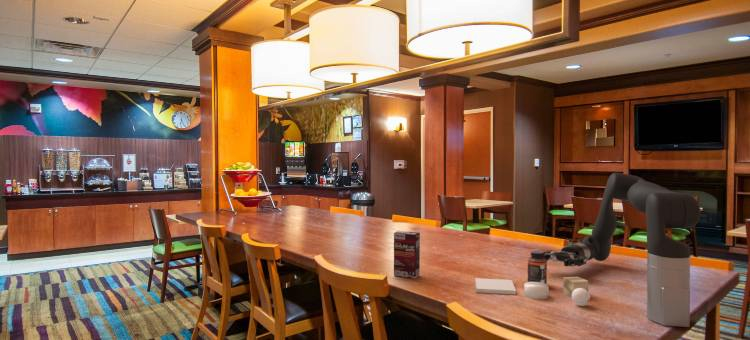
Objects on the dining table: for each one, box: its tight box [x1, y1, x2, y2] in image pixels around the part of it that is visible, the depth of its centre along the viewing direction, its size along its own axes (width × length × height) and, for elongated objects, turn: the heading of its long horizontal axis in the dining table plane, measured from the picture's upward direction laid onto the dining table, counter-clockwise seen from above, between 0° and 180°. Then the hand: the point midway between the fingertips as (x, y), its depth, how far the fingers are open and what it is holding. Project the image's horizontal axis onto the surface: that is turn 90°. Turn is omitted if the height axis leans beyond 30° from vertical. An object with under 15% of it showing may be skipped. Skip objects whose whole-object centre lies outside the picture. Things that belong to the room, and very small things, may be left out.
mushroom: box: [571, 288, 591, 307], centre depth 124 cm, size 5×5×5 cm
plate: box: [474, 277, 517, 295], centre depth 141 cm, size 12×12×1 cm
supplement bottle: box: [527, 250, 548, 285], centre depth 143 cm, size 6×6×11 cm
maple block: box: [562, 276, 589, 298], centre depth 133 cm, size 5×5×5 cm
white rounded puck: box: [523, 281, 550, 300], centre depth 133 cm, size 7×7×4 cm
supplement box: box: [393, 230, 421, 279], centre depth 156 cm, size 9×5×16 cm, turn 65°
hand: (553, 261), depth 150 cm, fingers open, 8 cm apart
